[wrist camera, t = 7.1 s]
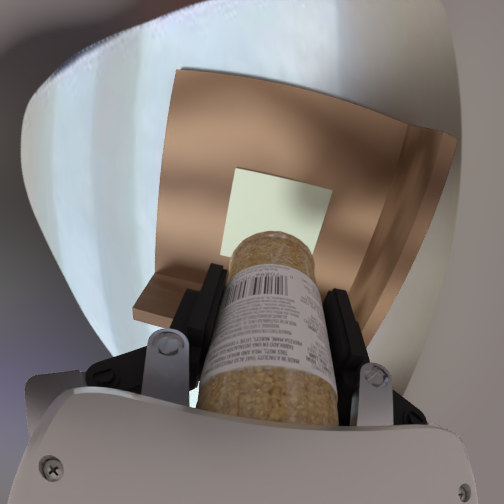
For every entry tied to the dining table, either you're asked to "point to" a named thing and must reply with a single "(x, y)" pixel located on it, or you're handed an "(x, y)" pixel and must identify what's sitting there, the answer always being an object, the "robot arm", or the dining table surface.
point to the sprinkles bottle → (270, 338)
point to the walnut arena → (299, 169)
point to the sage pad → (273, 209)
